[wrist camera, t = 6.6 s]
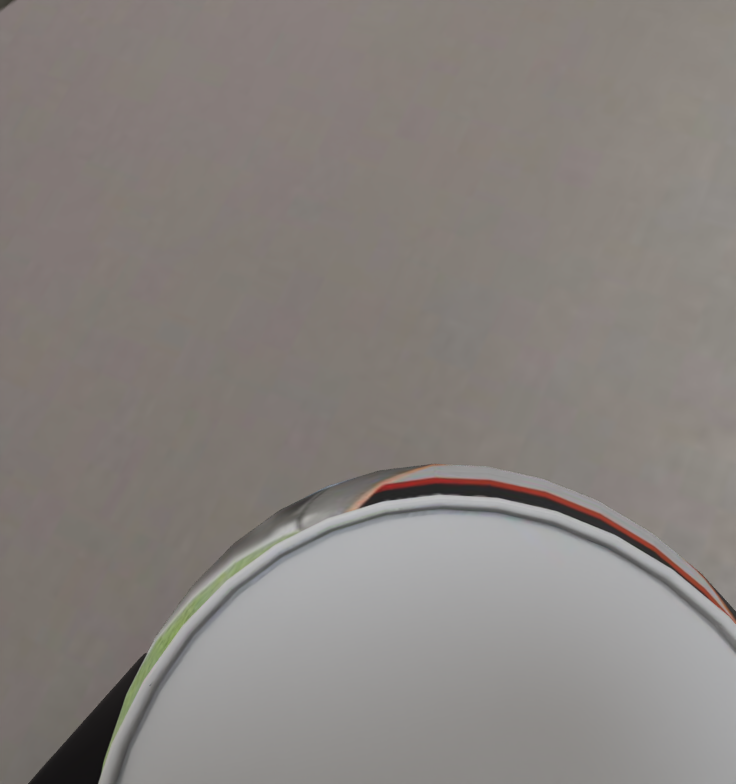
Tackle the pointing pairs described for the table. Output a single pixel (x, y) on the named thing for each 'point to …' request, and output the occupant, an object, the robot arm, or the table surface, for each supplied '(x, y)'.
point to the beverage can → (438, 647)
